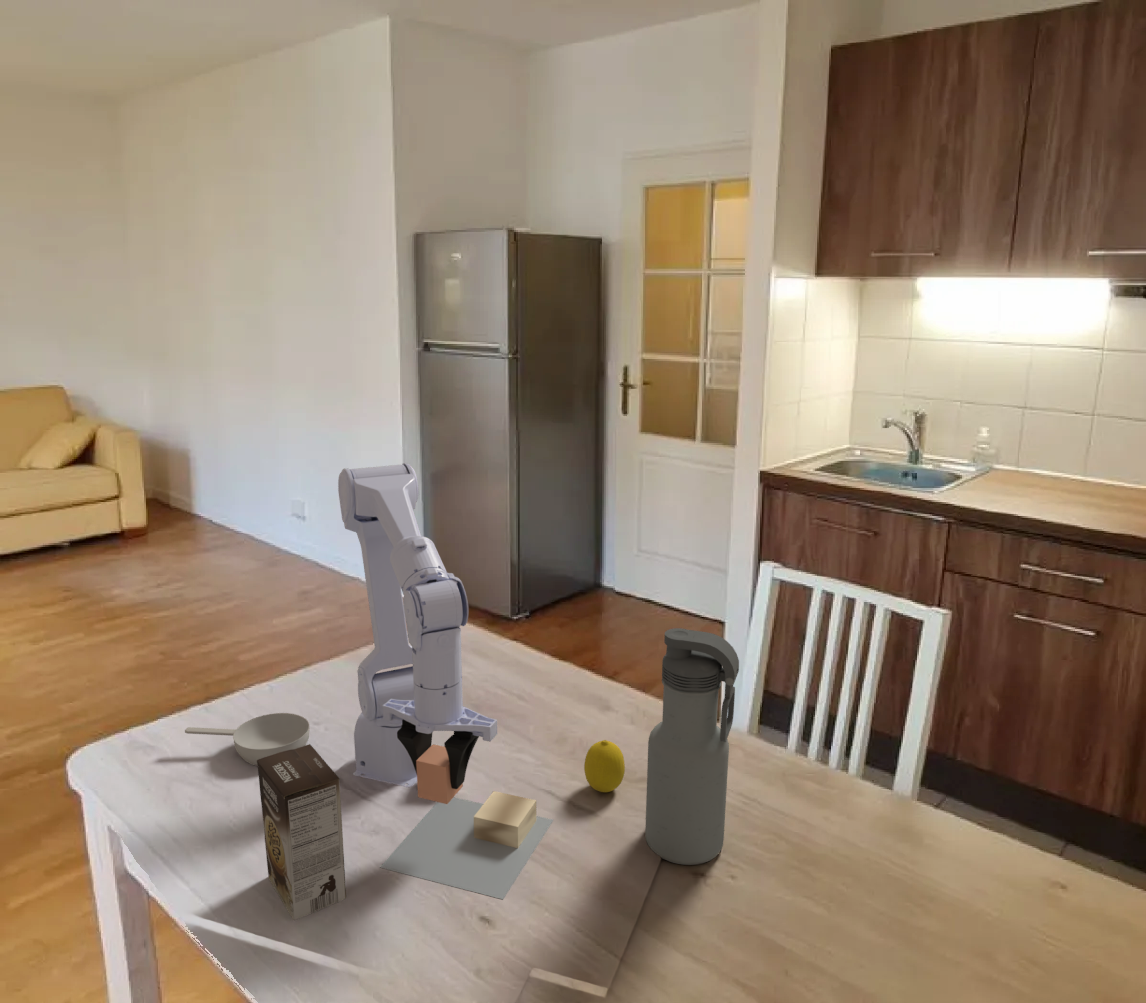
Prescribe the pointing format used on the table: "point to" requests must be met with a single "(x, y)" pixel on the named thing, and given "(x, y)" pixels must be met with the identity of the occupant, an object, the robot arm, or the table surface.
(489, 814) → the block
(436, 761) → the terracotta block
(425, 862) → the board
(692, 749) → the water bottle
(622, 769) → the lemon
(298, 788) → the coffee box
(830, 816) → the table surface
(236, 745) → the small pan
